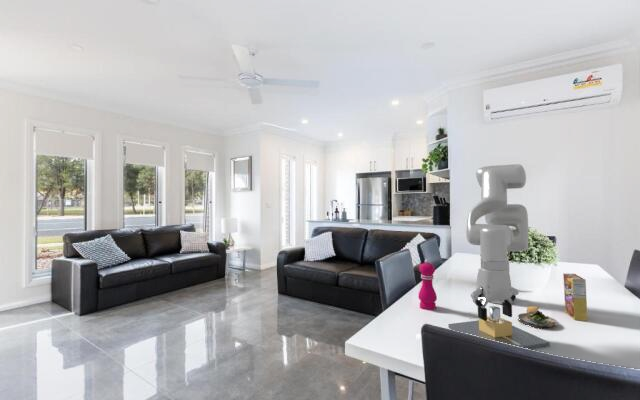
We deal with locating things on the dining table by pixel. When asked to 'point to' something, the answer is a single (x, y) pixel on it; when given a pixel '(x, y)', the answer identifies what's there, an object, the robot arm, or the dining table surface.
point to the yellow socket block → (496, 327)
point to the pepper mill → (427, 287)
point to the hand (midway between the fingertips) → (495, 317)
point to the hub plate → (517, 337)
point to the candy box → (575, 296)
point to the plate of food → (536, 318)
